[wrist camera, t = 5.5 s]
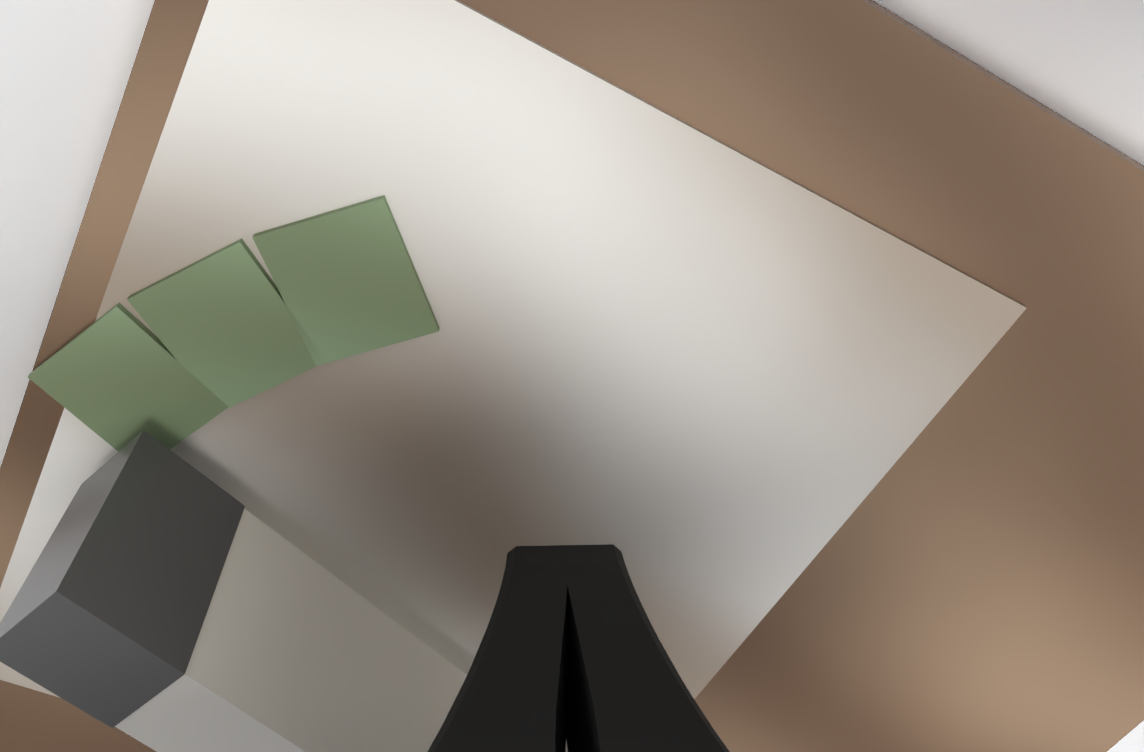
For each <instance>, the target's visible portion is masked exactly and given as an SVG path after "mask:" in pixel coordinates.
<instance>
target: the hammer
mask: <svg viewBox="0 0 1144 752" xmlns="http://www.w3.org/2000/svg"><path fill="white" fill-rule="evenodd" d="M0 662H2V663H3V664H5V665H7V666H8V667H10V668H12V669H13V670H15V671H17V672H18V673H20V674H22V675H23V676H25V677H27V678H29V679H30V680H32V681H34V682H35V683H37V684H39V685H40V686H42V687H44V688H45V689H47V690H49V691H50V692H52V693H54V694H55V695H57V696H59V697H60V698H62V699H64V700H65V701H67V702H69V703H70V704H72V705H74V706H75V707H77V708H79V709H81V710H82V711H84V712H86V713H87V714H89V715H91V716H92V717H94V718H96V719H97V720H99V721H101V722H102V723H104V724H106V725H107V726H109V727H111V728H113V727H116V728H118V729H120V730H121V731H123V732H125V733H126V734H128V735H130V736H131V737H133V738H135V739H136V740H138V741H140V742H141V743H143V744H145V745H146V746H148V747H150V748H151V749H153V750H155V751H156V752H428V750H429V748H430V746H431V744H432V743H433V741H434V739H435V737H436V736H437V734H438V732H439V730H440V728H441V726H442V725H443V723H444V721H445V719H446V717H447V715H448V713H449V711H450V709H451V707H452V705H453V703H454V701H455V699H456V697H457V695H458V693H459V691H460V689H461V687H462V685H463V683H464V681H465V679H466V676H467V674H465V673H464V672H463V671H461V670H460V669H459V668H457V667H456V666H455V665H453V664H452V663H451V662H449V661H448V660H447V659H445V658H444V657H443V656H441V655H440V654H439V653H437V652H436V651H434V650H433V649H432V648H430V647H429V646H428V645H426V644H425V643H424V642H422V641H421V640H420V639H418V638H417V637H416V636H414V635H413V634H412V633H410V632H409V631H408V630H406V629H405V628H404V627H402V626H401V625H400V624H398V623H397V622H396V621H394V620H393V619H392V618H390V617H389V616H388V615H386V614H385V613H384V612H382V611H381V610H380V609H378V608H377V607H376V606H374V605H373V604H372V603H370V602H369V601H368V600H366V599H365V598H364V597H362V596H361V595H360V594H358V593H357V592H356V591H354V590H353V589H352V588H350V587H349V586H348V585H346V584H345V583H344V582H342V581H341V580H340V579H338V578H337V577H336V576H334V575H333V574H332V573H330V572H329V571H328V570H326V569H325V568H324V567H322V566H321V565H320V564H318V563H317V562H316V561H314V560H313V559H312V558H310V557H309V556H308V555H306V554H305V553H304V552H302V551H301V550H300V549H298V548H297V547H296V546H294V545H293V544H291V543H290V542H289V541H287V540H286V539H285V538H283V537H282V536H281V535H279V534H278V533H277V532H275V531H274V530H273V529H271V528H270V527H269V526H267V525H266V524H265V523H263V522H262V521H261V520H259V519H258V518H257V517H255V516H254V515H253V514H251V513H250V512H249V511H247V510H246V509H245V506H244V505H243V504H242V503H240V502H239V501H238V500H236V499H235V498H234V497H232V496H231V495H230V494H228V493H227V492H226V491H224V490H223V489H222V488H220V487H219V486H218V485H216V484H215V483H214V482H212V481H211V480H210V479H208V478H207V477H206V476H204V475H203V474H202V473H200V472H199V471H198V470H196V469H195V468H194V467H192V466H191V465H190V464H188V463H187V462H186V461H184V460H183V459H182V458H180V457H179V456H178V455H176V454H175V453H174V452H172V451H171V450H170V449H168V448H167V447H166V446H164V445H163V444H162V443H160V442H159V441H158V440H156V439H155V438H154V437H152V436H151V435H150V434H148V433H147V432H146V431H144V430H143V431H142V432H140V433H139V434H138V435H137V436H136V437H135V438H134V439H132V440H131V441H130V442H129V443H128V444H127V445H126V446H124V447H123V448H122V449H121V450H120V451H119V452H118V453H116V454H115V455H114V456H113V457H112V458H111V459H110V460H108V461H107V462H106V463H105V464H104V465H103V466H102V467H100V468H99V469H98V470H97V471H96V472H95V473H94V474H92V475H91V476H90V477H89V478H88V479H87V480H86V481H84V482H83V483H82V484H81V486H80V487H79V489H78V491H77V493H76V494H75V496H74V498H73V499H72V501H71V503H70V504H69V506H68V508H67V510H66V511H65V513H64V515H63V516H62V518H61V520H60V522H59V523H58V525H57V527H56V528H55V530H54V532H53V534H52V535H51V537H50V539H49V540H48V542H47V544H46V546H45V547H44V549H43V551H42V552H41V554H40V556H39V558H38V559H37V561H36V563H35V564H34V566H33V568H32V570H31V571H30V573H29V575H28V576H27V578H26V580H25V581H24V583H23V585H22V587H21V588H20V590H19V592H18V593H17V595H16V597H15V599H14V600H13V602H12V604H11V605H10V607H9V609H8V611H7V612H6V614H5V616H4V617H3V619H2V621H1V623H0ZM565 752H568V749H567V741H566V748H565Z"/></svg>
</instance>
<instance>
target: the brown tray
mask: <svg viewBox="0 0 1144 752" xmlns="http://www.w3.org/2000/svg"><path fill="white" fill-rule="evenodd" d="M28 378H29V379H30V380H29V383H28V386H27V389H26V392H25V396H24V399H23V402H22V405H21V408H20V411H19V414H18V417H17V420H16V423H15V426H14V429H13V432H12V435H11V438H10V441H9V444H8V447H7V450H6V453H5V456H4V459H3V462H2V465H1V468H0V623H1V621H2V619H3V617H4V616H5V614H6V612H7V611H8V609H9V607H10V605H11V604H12V602H13V600H14V599H15V597H16V595H17V593H18V592H19V590H20V588H21V587H22V585H23V583H24V581H25V580H26V578H27V576H28V575H29V573H30V571H31V570H32V568H33V566H34V564H35V563H36V561H37V559H38V558H39V556H40V554H41V552H42V551H43V549H44V547H45V546H46V544H47V542H48V540H49V539H50V537H51V535H52V534H53V532H54V530H55V528H56V527H57V525H58V523H59V522H60V520H61V518H62V516H63V515H64V513H65V511H66V510H67V508H68V506H69V504H70V503H71V501H72V499H73V498H74V496H75V494H76V493H77V491H78V489H79V487H80V486H81V484H82V483H83V482H84V481H86V480H87V479H88V478H89V477H90V476H91V475H92V474H94V473H95V472H96V471H97V470H98V469H99V468H100V467H102V466H103V465H104V464H105V463H106V462H107V461H108V460H110V459H111V458H112V457H113V456H114V455H115V454H116V453H118V452H119V451H120V450H121V449H122V448H123V447H124V446H126V445H127V444H128V443H129V442H130V441H131V440H132V439H134V438H135V437H136V436H137V435H138V434H139V433H140V432H142V431H143V430H144V431H146V432H147V433H148V434H150V435H151V436H152V437H154V438H155V439H156V440H158V441H159V442H160V443H162V444H163V445H164V446H166V447H167V448H168V449H170V450H171V451H172V452H174V453H175V454H176V455H178V456H179V457H180V458H182V459H183V460H184V461H186V462H187V463H188V464H190V465H191V466H192V467H194V468H195V469H196V470H198V471H199V472H200V473H202V474H203V475H204V476H206V477H207V478H208V479H210V480H211V481H212V482H214V483H215V484H216V485H218V486H219V487H220V488H222V489H223V490H224V491H226V492H227V493H228V494H230V495H231V496H232V497H234V498H235V499H236V500H238V501H239V502H240V503H242V504H243V505H244V506H245V509H246V510H247V511H249V512H250V513H251V514H253V515H254V516H255V517H257V518H258V519H259V520H261V521H262V522H263V523H265V524H266V525H267V526H269V527H270V528H271V529H273V530H274V531H275V532H277V533H278V534H279V535H281V536H282V537H283V538H285V539H286V540H287V541H289V542H290V543H291V544H293V545H294V546H296V547H297V548H298V549H300V550H301V551H302V552H304V553H305V554H306V555H308V556H309V557H310V558H312V559H313V560H314V561H316V562H317V563H318V564H320V565H321V566H322V567H324V568H325V569H326V570H328V571H329V572H330V573H332V574H333V575H334V576H336V577H337V578H338V579H340V580H341V581H342V582H344V583H345V584H346V585H348V586H349V587H350V588H352V589H353V590H354V591H356V592H357V593H358V594H360V595H361V596H362V597H364V598H365V599H366V600H368V601H369V602H370V603H372V604H373V605H374V606H376V607H377V608H378V609H380V610H381V611H382V612H384V613H385V614H386V615H388V616H389V617H390V618H392V619H393V620H394V621H396V622H397V623H398V624H400V625H401V626H402V627H404V628H405V629H406V630H408V631H409V632H410V633H412V634H413V635H414V636H416V637H417V638H418V639H420V640H421V641H422V642H424V643H425V644H426V645H428V646H429V647H430V648H432V649H433V650H434V651H436V652H437V653H439V654H440V655H441V656H443V657H444V658H445V659H447V660H448V661H449V662H451V663H452V664H453V665H455V666H456V667H457V668H459V669H460V670H461V671H463V672H464V673H465V674H468V672H469V670H470V668H471V665H472V663H473V660H474V658H475V656H476V653H477V651H478V648H479V646H480V643H481V641H482V639H483V636H484V634H485V631H486V629H487V626H488V624H489V621H490V618H491V615H492V612H493V609H494V607H495V604H496V601H497V597H498V594H499V591H500V587H501V584H502V580H503V575H504V571H505V566H506V558H507V553H508V552H509V551H511V550H512V549H513V548H514V547H516V546H550V545H607V544H613V545H615V546H616V547H617V548H618V549H619V550H620V551H621V552H622V555H623V559H624V562H625V565H626V568H627V570H628V573H629V576H630V578H631V581H632V583H633V586H634V588H635V590H636V593H637V595H638V597H639V600H640V602H641V604H642V606H643V608H644V610H645V612H646V614H647V616H648V618H649V621H650V623H651V625H652V627H653V628H654V630H655V632H656V634H657V636H658V638H659V640H660V642H661V643H662V645H663V647H664V649H665V651H666V652H667V654H668V656H669V658H670V659H671V661H672V663H673V665H674V667H675V668H676V670H677V672H678V674H679V675H680V677H681V679H682V680H683V682H684V684H685V685H686V687H687V689H688V690H689V692H690V693H691V695H692V697H693V698H694V700H695V701H696V703H697V704H698V706H699V707H700V709H701V710H702V712H703V714H704V715H705V717H706V718H707V720H708V721H709V723H710V724H711V726H712V727H713V729H714V730H715V732H716V733H717V734H718V736H719V737H720V739H721V740H722V742H723V743H724V744H725V746H726V747H727V749H728V750H729V751H730V752H1107V751H1108V750H1109V749H1110V748H1112V747H1113V746H1114V745H1115V744H1116V743H1117V742H1119V741H1120V740H1121V739H1122V738H1123V737H1124V736H1126V735H1127V734H1128V733H1129V732H1130V731H1131V730H1133V729H1134V728H1135V727H1136V726H1137V725H1138V724H1140V723H1141V722H1142V721H1143V720H1144V166H1142V165H1141V164H1139V163H1138V162H1136V161H1134V160H1133V159H1131V158H1129V157H1128V156H1126V155H1124V154H1123V153H1121V152H1120V151H1118V150H1116V149H1115V148H1113V147H1111V146H1110V145H1108V144H1106V143H1105V142H1103V141H1102V140H1100V139H1098V138H1097V137H1095V136H1093V135H1092V134H1090V133H1088V132H1087V131H1085V130H1084V129H1082V128H1080V127H1079V126H1077V125H1075V124H1074V123H1072V122H1070V121H1069V120H1067V119H1066V118H1064V117H1062V116H1061V115H1059V114H1057V113H1056V112H1054V111H1052V110H1051V109H1049V108H1048V107H1046V106H1044V105H1043V104H1041V103H1039V102H1038V101H1036V100H1034V99H1033V98H1031V97H1030V96H1028V95H1026V94H1025V93H1023V92H1021V91H1020V90H1018V89H1016V88H1015V87H1013V86H1012V85H1010V84H1008V83H1007V82H1005V81H1003V80H1002V79H1000V78H998V77H997V76H995V75H994V74H992V73H990V72H989V71H987V70H985V69H984V68H982V67H980V66H979V65H977V64H976V63H974V62H972V61H971V60H969V59H967V58H966V57H964V56H962V55H961V54H959V53H958V52H956V51H954V50H953V49H951V48H949V47H948V46H946V45H944V44H943V43H941V42H940V41H938V40H936V39H935V38H933V37H931V36H930V35H928V34H926V33H925V32H923V31H922V30H920V29H918V28H917V27H915V26H913V25H912V24H910V23H908V22H907V21H905V20H904V19H902V18H900V17H899V16H897V15H895V14H894V13H892V12H890V11H889V10H887V9H885V8H884V7H882V6H881V5H879V4H877V3H876V2H874V1H872V0H155V2H154V5H153V8H152V11H151V14H150V17H149V20H148V23H147V26H146V29H145V32H144V35H143V38H142V41H141V44H140V47H139V50H138V53H137V56H136V59H135V62H134V65H133V68H132V71H131V75H130V78H129V81H128V84H127V87H126V90H125V93H124V96H123V99H122V102H121V105H120V108H119V111H118V114H117V117H116V120H115V123H114V126H113V129H112V132H111V135H110V138H109V141H108V144H107V147H106V150H105V153H104V156H103V159H102V162H101V165H100V168H99V171H98V174H97V177H96V181H95V184H94V187H93V190H92V193H91V196H90V199H89V202H88V205H87V208H86V211H85V214H84V217H83V220H82V223H81V226H80V229H79V232H78V235H77V238H76V241H75V244H74V247H73V250H72V253H71V256H70V259H69V262H68V265H67V268H66V271H65V274H64V277H63V280H62V283H61V286H60V290H59V293H58V296H57V299H56V302H55V305H54V308H53V311H52V314H51V317H50V320H49V323H48V326H47V329H46V332H45V335H44V338H43V341H42V344H41V347H40V350H39V353H38V356H37V359H36V362H35V365H34V368H33V371H32V372H31V373H30V374H29V376H28ZM0 752H156V751H155V750H153V749H151V748H150V747H148V746H146V745H145V744H143V743H141V742H140V741H138V740H136V739H135V738H133V737H131V736H130V735H128V734H126V733H125V732H123V731H121V730H120V729H118V728H116V727H113V728H111V727H109V726H107V725H106V724H104V723H102V722H101V721H99V720H97V719H96V718H94V717H92V716H91V715H89V714H87V713H86V712H84V711H82V710H81V709H79V708H77V707H75V706H74V705H72V704H70V703H69V702H67V701H65V700H64V699H62V698H60V697H59V696H57V695H55V694H54V693H52V692H50V691H49V690H47V689H45V688H44V687H42V686H40V685H39V684H37V683H35V682H34V681H32V680H30V679H29V678H27V677H25V676H23V675H22V674H20V673H18V672H17V671H15V670H13V669H12V668H10V667H8V666H7V665H5V664H3V663H2V662H0Z"/></svg>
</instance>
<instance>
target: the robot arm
mask: <svg viewBox="0 0 1144 752" xmlns="http://www.w3.org/2000/svg"><path fill="white" fill-rule="evenodd" d="M566 741H567V749H568V752H730V751H729V750H728V749H727V747H726V746H725V744H724V743H723V742H722V740H721V739H720V737H719V736H718V734H717V733H716V732H715V730H714V729H713V727H712V726H711V724H710V723H709V721H708V720H707V718H706V717H705V715H704V714H703V712H702V710H701V709H700V707H699V706H698V704H697V703H696V701H695V700H694V698H693V697H692V695H691V693H690V692H689V690H688V689H687V687H686V685H685V684H684V682H683V680H682V679H681V677H680V675H679V674H678V672H677V670H676V668H675V667H674V665H673V663H672V661H671V659H670V658H669V656H668V654H667V652H666V651H665V649H664V647H663V645H662V643H661V642H660V640H659V638H658V636H657V634H656V632H655V630H654V628H653V627H652V625H651V623H650V621H649V618H648V616H647V614H646V612H645V610H644V608H643V606H642V604H641V602H640V600H639V597H638V595H637V593H636V590H635V588H634V586H633V583H632V581H631V578H630V576H629V573H628V570H627V568H626V565H625V562H624V559H623V555H622V552H621V551H620V550H619V549H618V548H617V547H616V546H615V545H613V544H607V545H550V546H516V547H514V548H513V549H512V550H511V551H509V552H508V553H507V558H506V566H505V571H504V575H503V580H502V584H501V587H500V591H499V594H498V597H497V601H496V604H495V607H494V609H493V612H492V615H491V618H490V621H489V624H488V626H487V629H486V631H485V634H484V636H483V639H482V641H481V643H480V646H479V648H478V651H477V653H476V656H475V658H474V660H473V663H472V665H471V668H470V670H469V672H468V674H467V676H466V679H465V681H464V683H463V685H462V687H461V689H460V691H459V693H458V695H457V697H456V699H455V701H454V703H453V705H452V707H451V709H450V711H449V713H448V715H447V717H446V719H445V721H444V723H443V725H442V726H441V728H440V730H439V732H438V734H437V736H436V737H435V739H434V741H433V743H432V744H431V746H430V748H429V750H428V752H565V748H566Z"/></svg>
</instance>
